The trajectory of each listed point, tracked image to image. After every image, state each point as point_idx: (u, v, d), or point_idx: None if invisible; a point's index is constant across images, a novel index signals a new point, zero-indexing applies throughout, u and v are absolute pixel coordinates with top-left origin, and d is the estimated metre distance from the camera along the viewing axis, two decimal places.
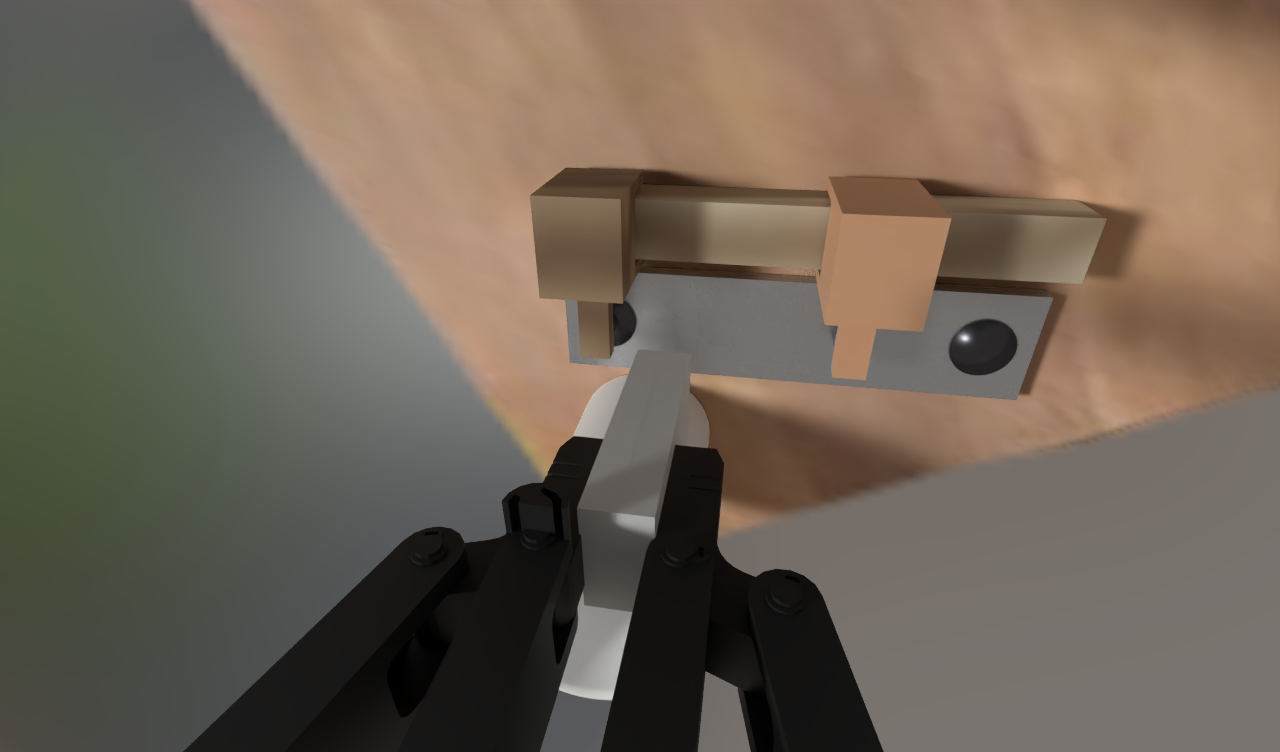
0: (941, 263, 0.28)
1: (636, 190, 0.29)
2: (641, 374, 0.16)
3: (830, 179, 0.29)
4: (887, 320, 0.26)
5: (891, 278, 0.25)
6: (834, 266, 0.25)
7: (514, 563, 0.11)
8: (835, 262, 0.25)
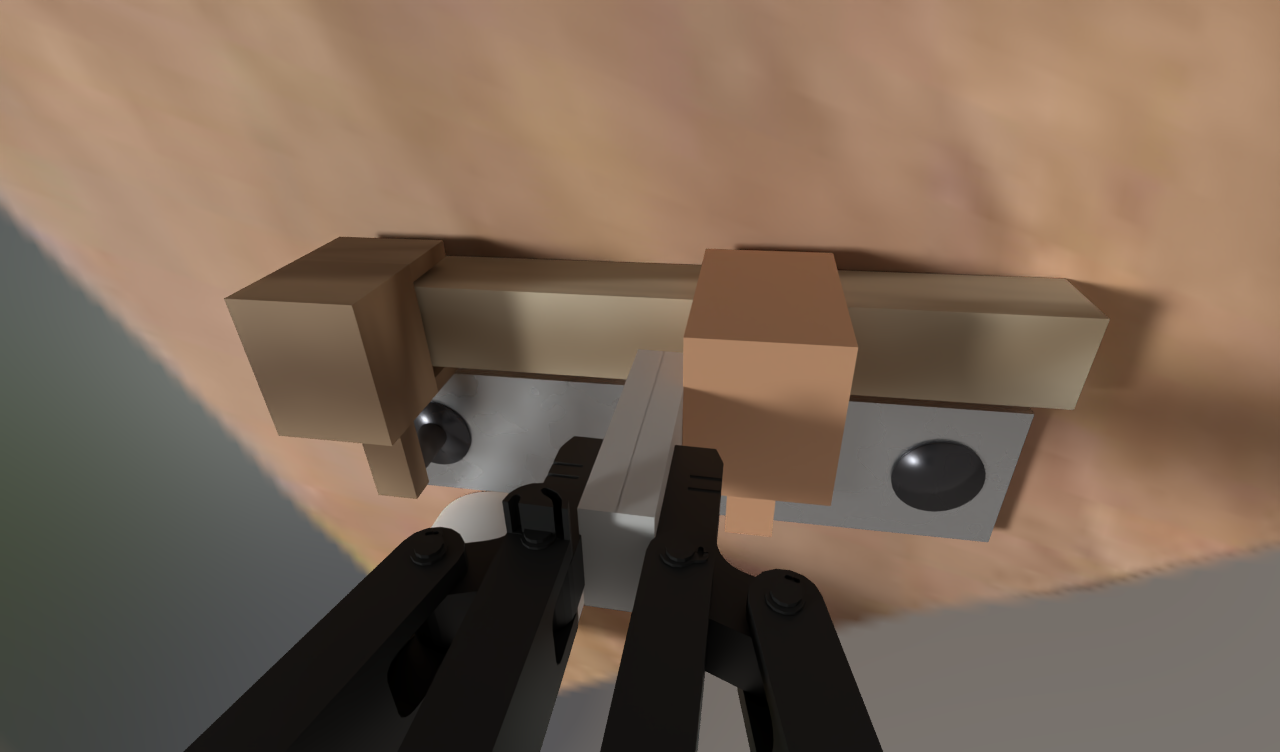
0: (863, 378, 0.19)
1: (420, 274, 0.20)
2: (641, 374, 0.16)
3: (705, 254, 0.20)
4: (774, 489, 0.17)
5: (773, 432, 0.16)
6: (683, 412, 0.16)
7: (514, 563, 0.11)
8: (684, 407, 0.16)
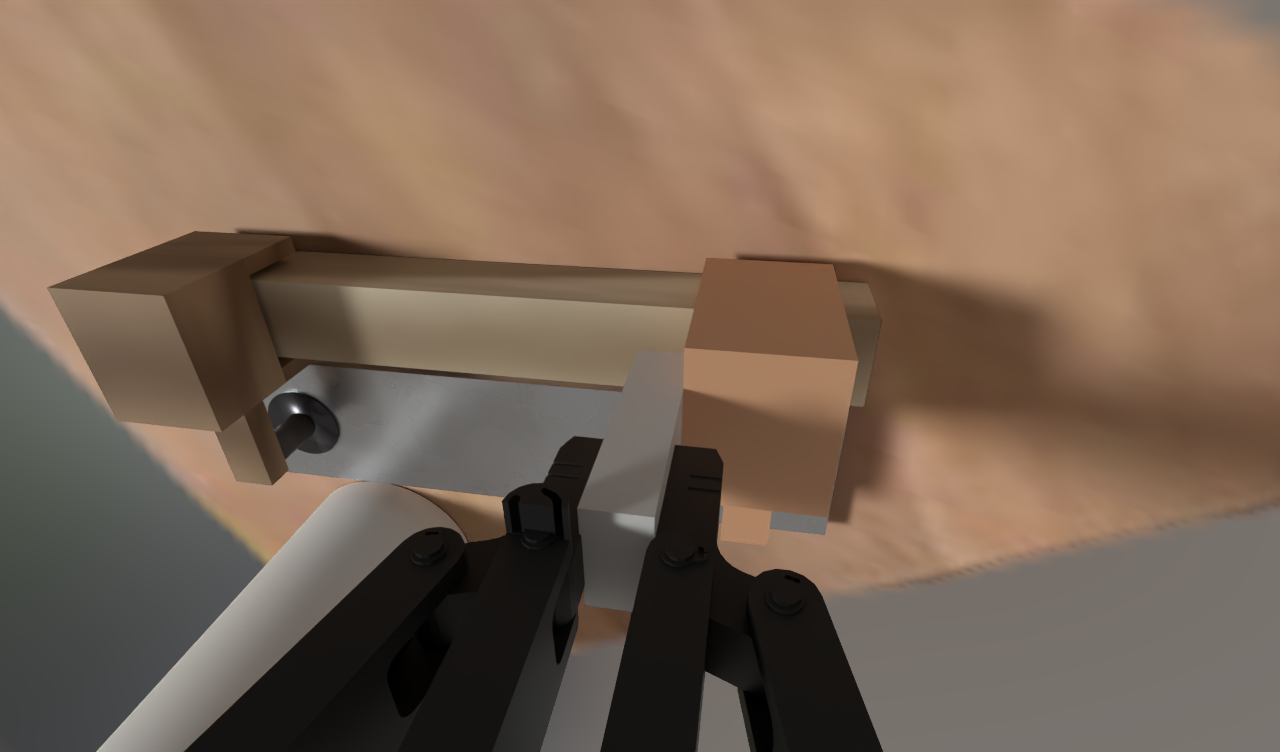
0: None
1: (259, 268, 0.21)
2: (641, 374, 0.16)
3: (706, 264, 0.20)
4: (772, 499, 0.17)
5: (772, 443, 0.16)
6: (683, 422, 0.16)
7: (514, 563, 0.11)
8: (683, 417, 0.16)
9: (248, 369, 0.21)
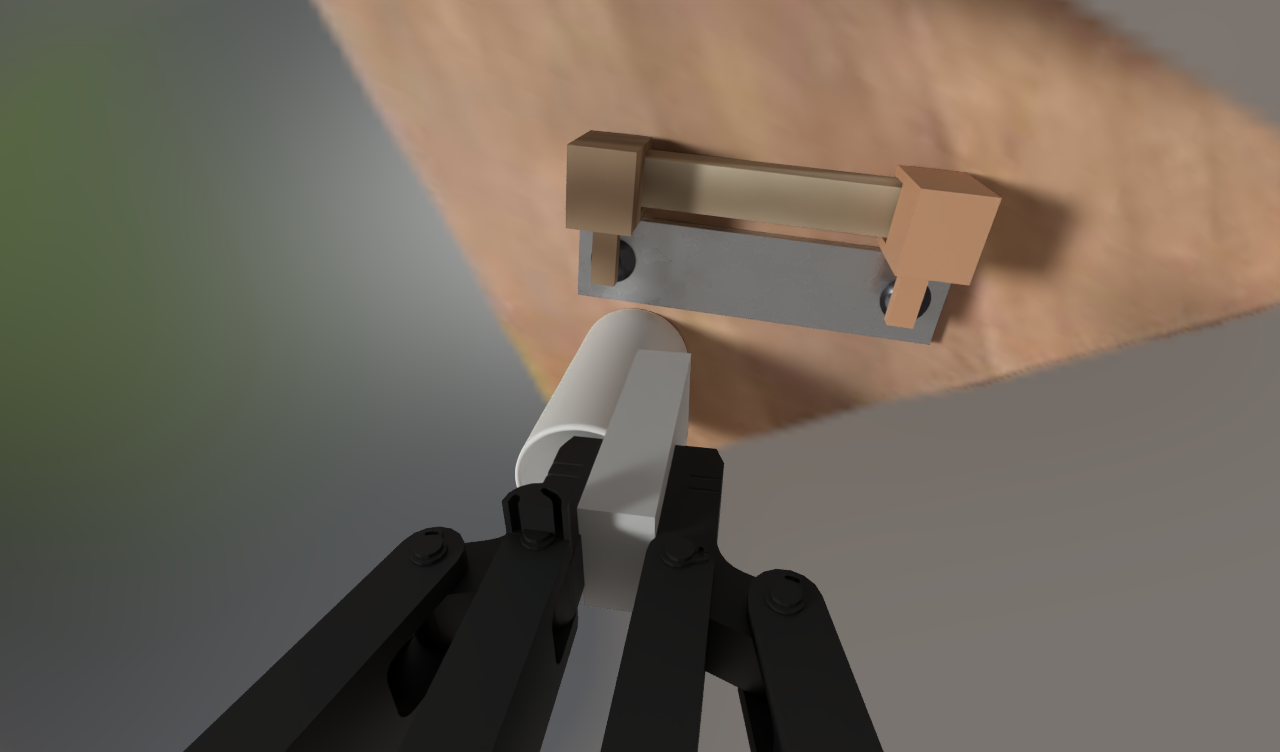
0: (874, 225, 0.37)
1: (646, 151, 0.38)
2: (641, 374, 0.16)
3: (900, 167, 0.37)
4: (943, 274, 0.34)
5: (951, 241, 0.33)
6: (909, 229, 0.33)
7: (514, 563, 0.11)
8: (910, 226, 0.33)
9: (637, 206, 0.38)
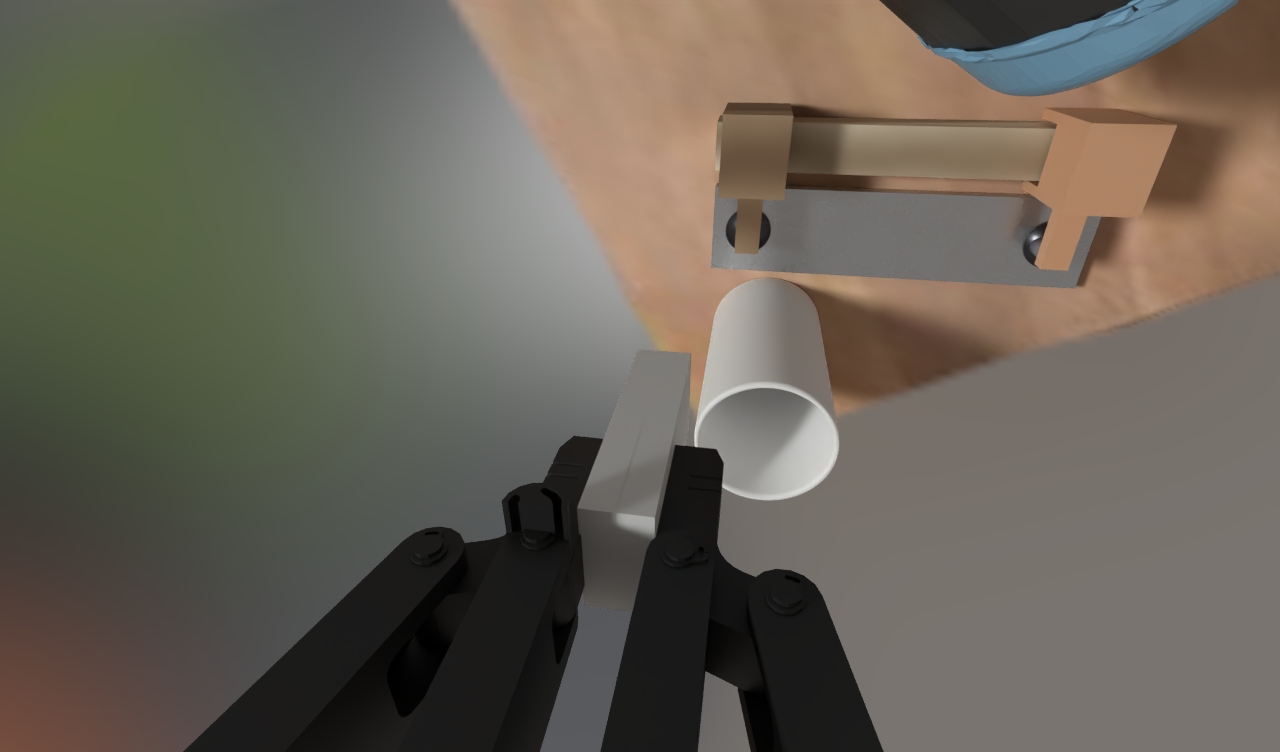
0: (1025, 170, 0.38)
1: None
2: (641, 374, 0.16)
3: (1048, 109, 0.37)
4: (1112, 209, 0.34)
5: (1122, 174, 0.33)
6: (1077, 166, 0.33)
7: (514, 563, 0.11)
8: (1079, 162, 0.33)
9: None
